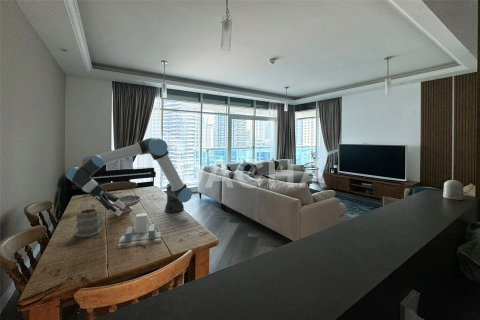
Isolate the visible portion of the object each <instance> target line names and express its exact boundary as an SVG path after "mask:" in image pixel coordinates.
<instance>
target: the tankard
mask: <svg viewBox="0 0 480 320" xmlns="http://www.w3.org/2000/svg"><path fill="white" fill-rule="evenodd" d="M100 217H101V213H100V212H99V209H97V208H96V204H94V203H92V205H91V207H90V208H86V209H82V210H79V211H78V212H77V213H76V217H75V220H76V221H77V224H76V229H77V231H75V236H76V237H79V238H87V237H92V236H95V235H98V234H100V233H101V232H102V230H103V229H102V227H101V226H100V225H101V220H100V219H99V218H100Z"/></svg>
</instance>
